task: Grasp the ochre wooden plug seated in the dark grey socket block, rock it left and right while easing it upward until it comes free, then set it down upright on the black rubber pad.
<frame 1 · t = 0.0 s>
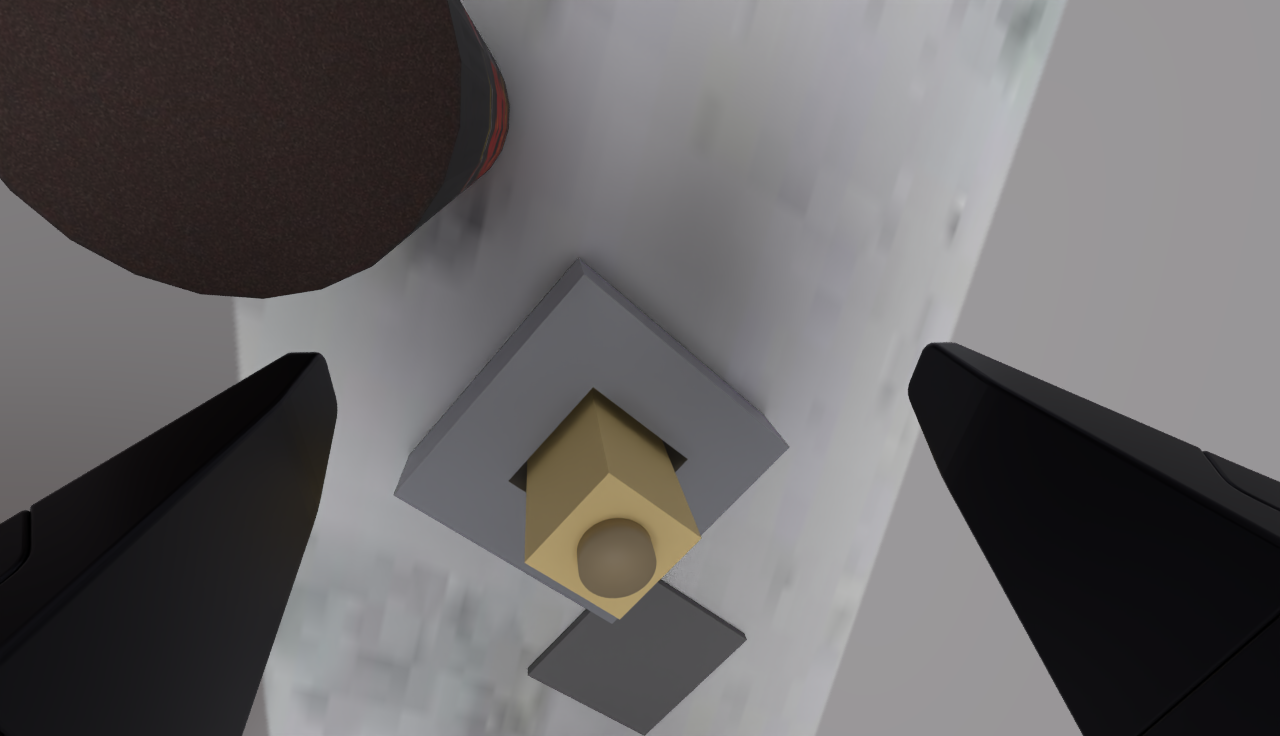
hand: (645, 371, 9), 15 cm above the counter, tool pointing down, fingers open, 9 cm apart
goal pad: (638, 651, 32), on the counter
deodorant: (422, 105, 21), on the counter
socket block: (593, 434, 27), on the counter
plug: (603, 488, 23), in the socket block
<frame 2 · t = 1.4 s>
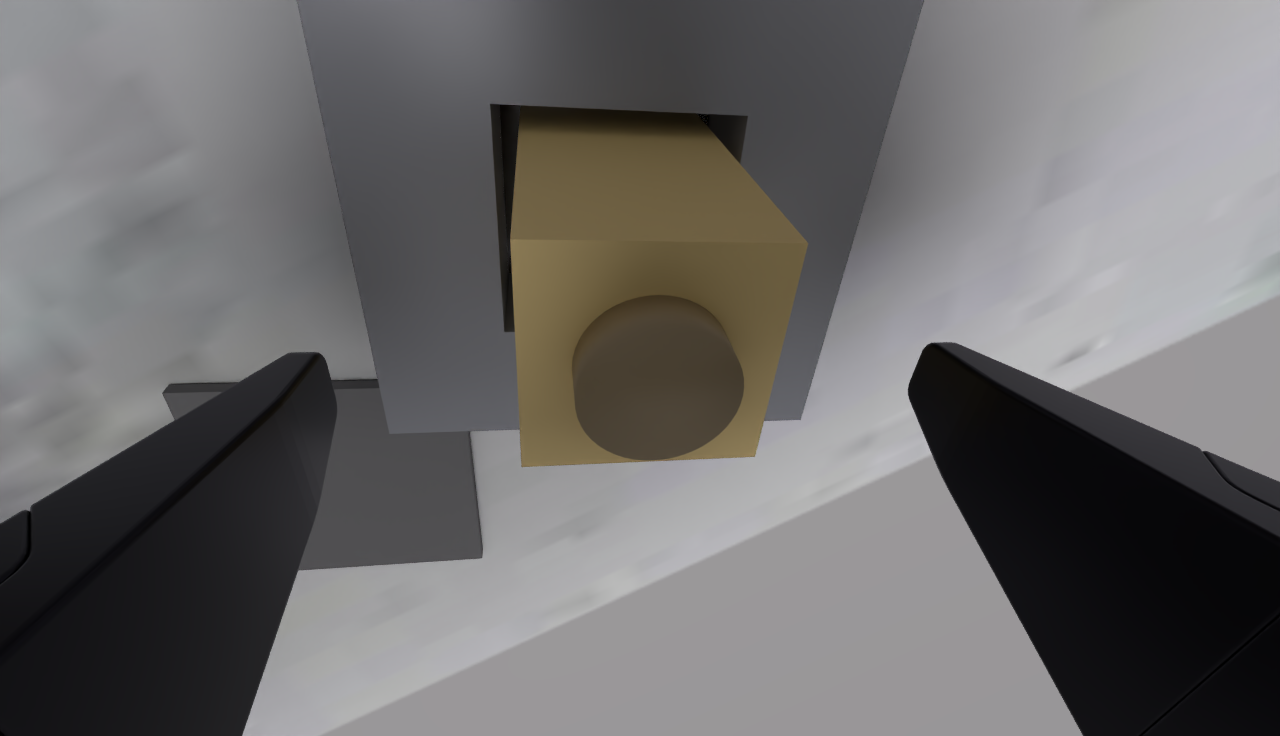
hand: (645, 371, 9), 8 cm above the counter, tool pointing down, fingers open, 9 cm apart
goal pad: (348, 478, 20), on the counter
socket block: (603, 185, 16), on the counter
plug: (623, 260, 12), in the socket block
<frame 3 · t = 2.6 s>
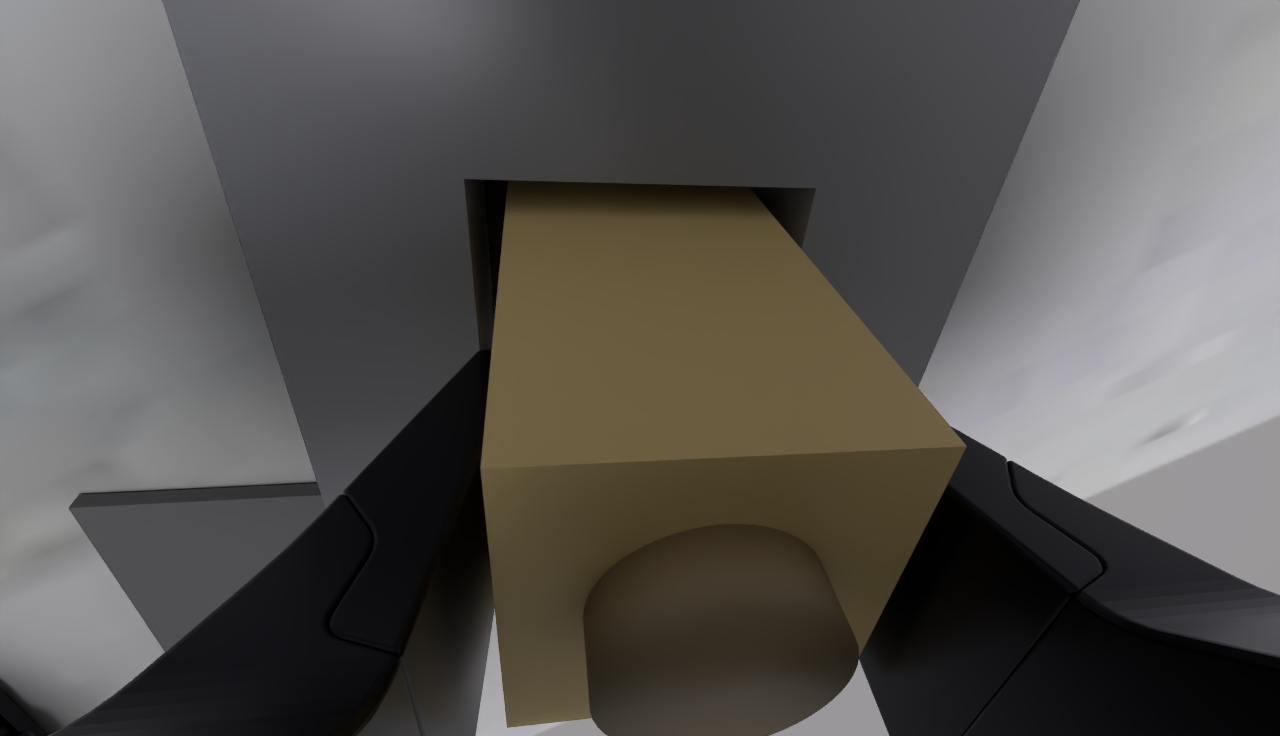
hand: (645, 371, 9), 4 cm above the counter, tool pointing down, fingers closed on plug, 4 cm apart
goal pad: (308, 588, 17), on the counter
socket block: (615, 256, 12), on the counter
plug: (648, 385, 9), in the socket block, touching gripper
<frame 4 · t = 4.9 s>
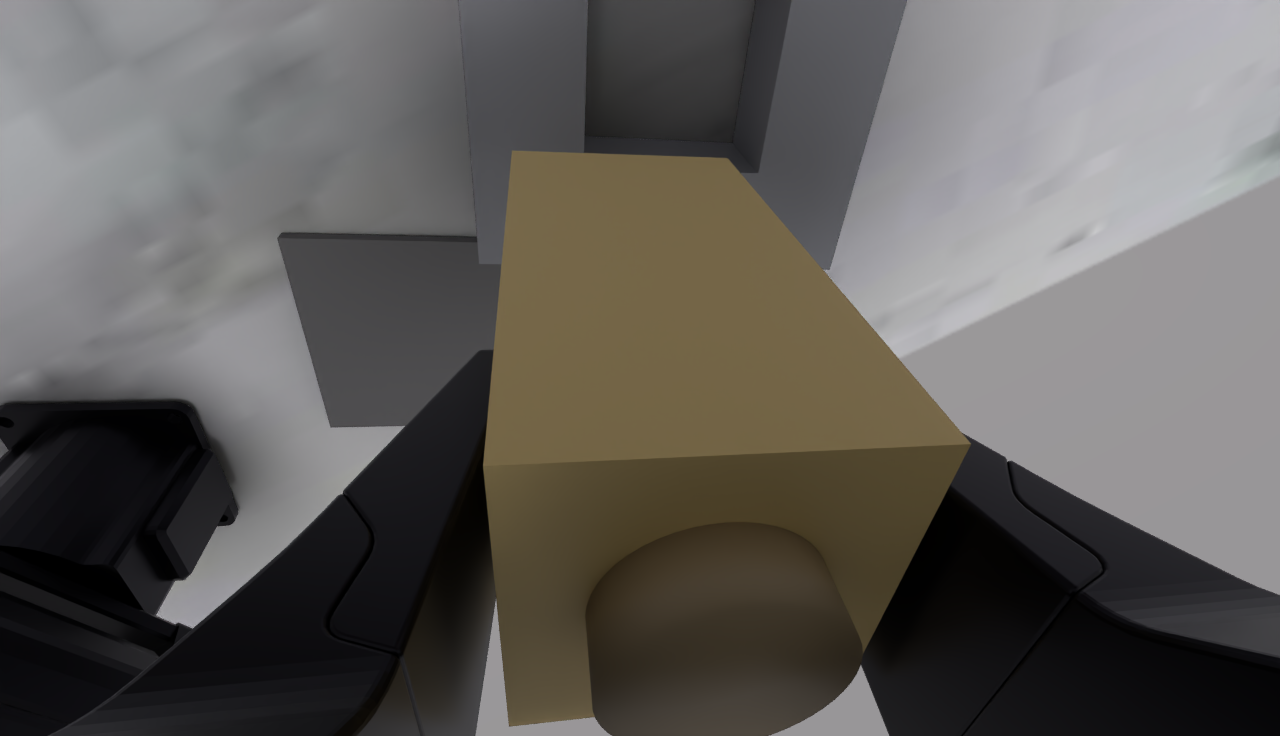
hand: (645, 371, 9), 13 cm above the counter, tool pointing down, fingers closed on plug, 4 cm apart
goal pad: (425, 336, 23), on the counter
socket block: (665, 52, 18), on the counter
plug: (650, 384, 9), point 13 cm above the counter, touching gripper
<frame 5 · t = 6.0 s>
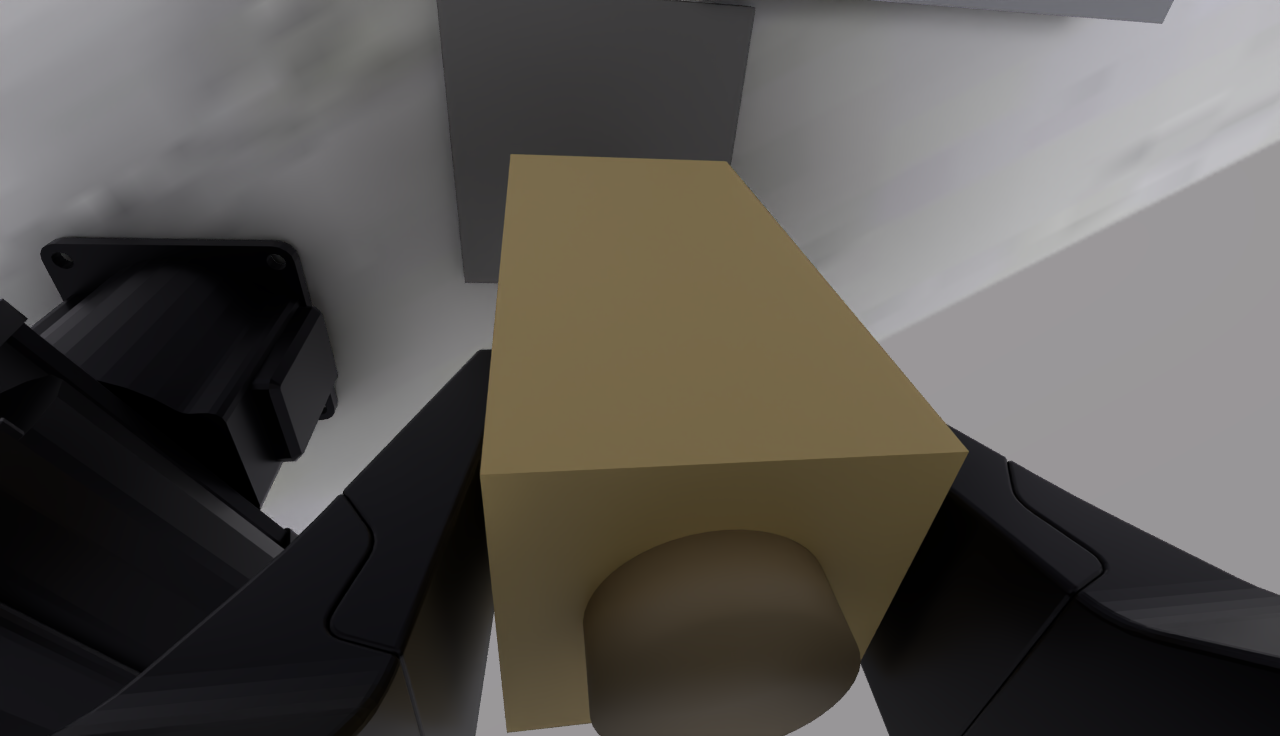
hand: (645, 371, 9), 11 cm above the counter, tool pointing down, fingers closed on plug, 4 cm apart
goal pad: (595, 154, 18), on the counter
plug: (649, 388, 9), point 11 cm above the counter, touching gripper
when the fingers open (5 cm above the counter, at t = 7.2 s): plug drops 1 cm, resting on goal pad.
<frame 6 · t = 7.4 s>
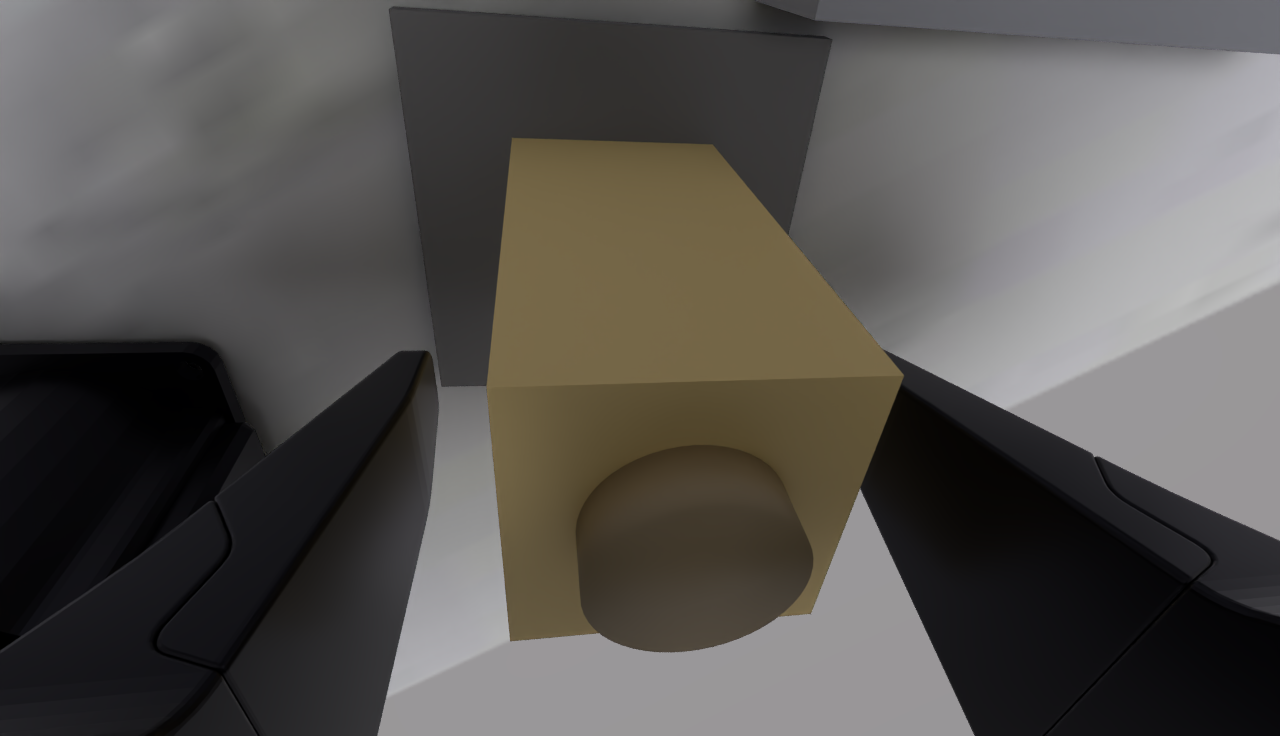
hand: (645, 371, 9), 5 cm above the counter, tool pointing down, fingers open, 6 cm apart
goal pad: (610, 227, 14), on the counter
plug: (638, 347, 10), on the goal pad
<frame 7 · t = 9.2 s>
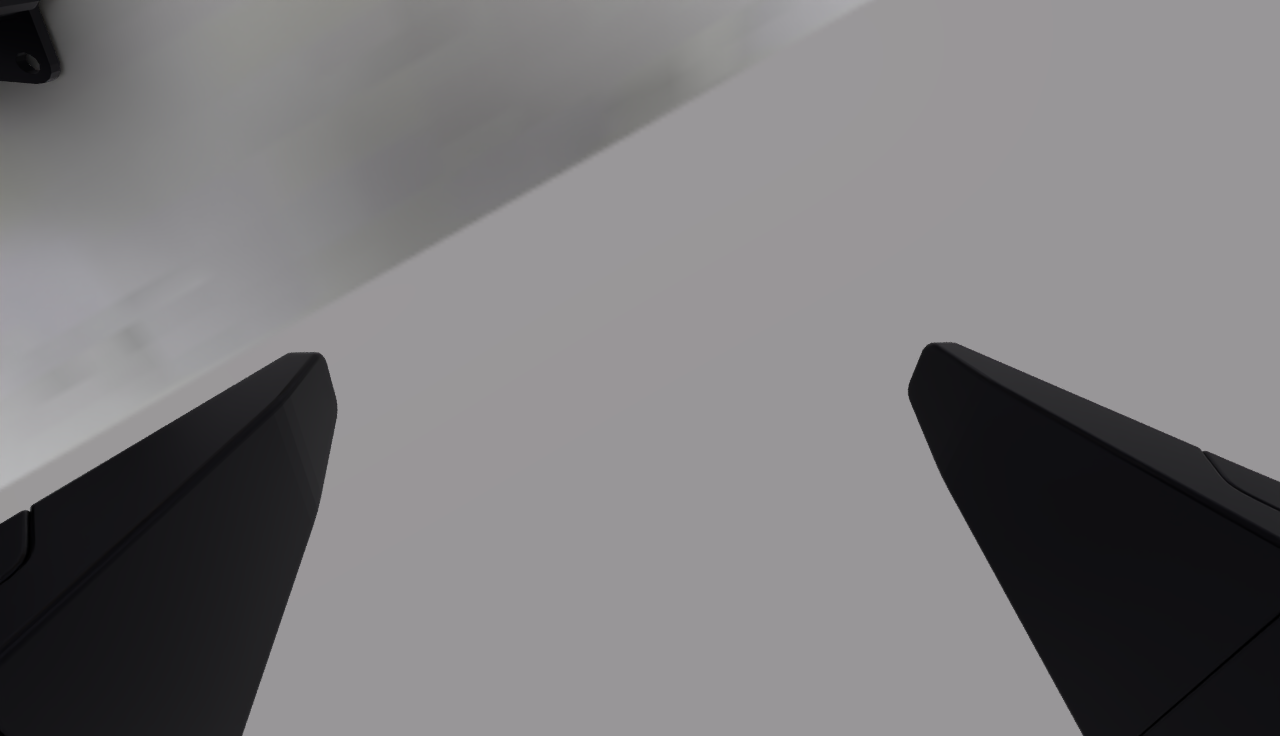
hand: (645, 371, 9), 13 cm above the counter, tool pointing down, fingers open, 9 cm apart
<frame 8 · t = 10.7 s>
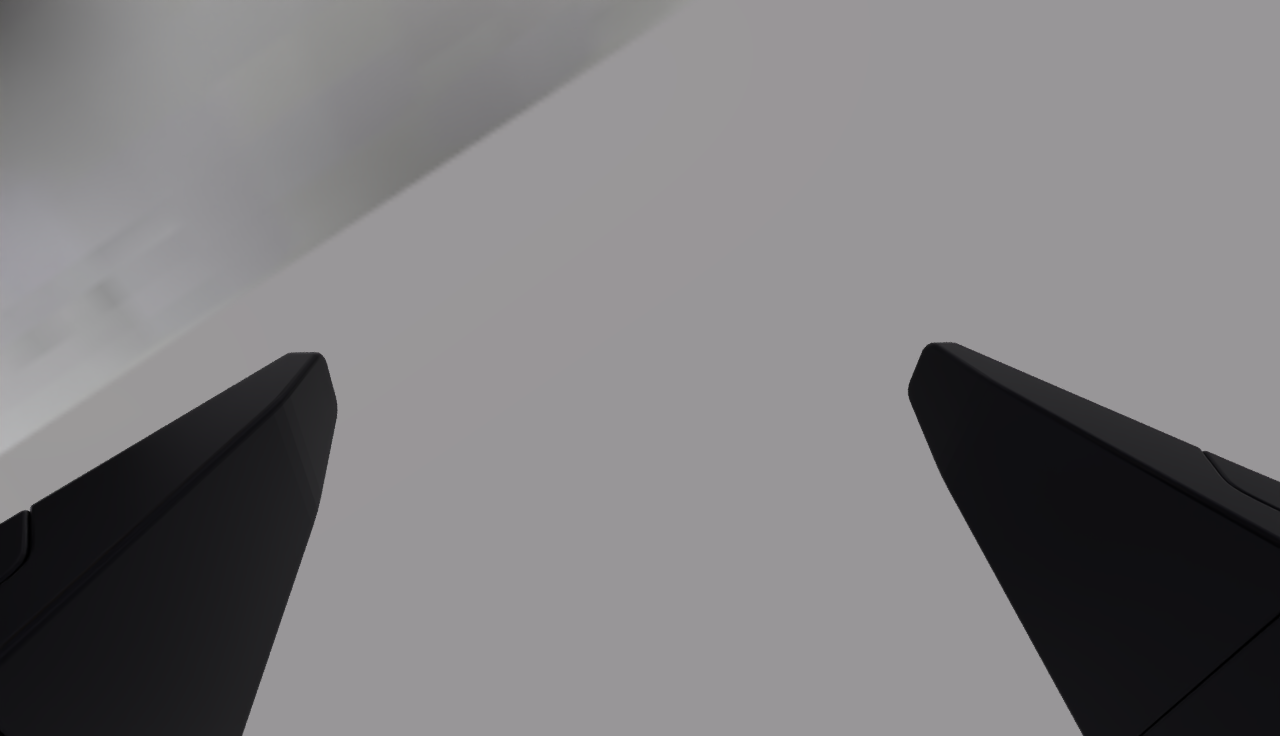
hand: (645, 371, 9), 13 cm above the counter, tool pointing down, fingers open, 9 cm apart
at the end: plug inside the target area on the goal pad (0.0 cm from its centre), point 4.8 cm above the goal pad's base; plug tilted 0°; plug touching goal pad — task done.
